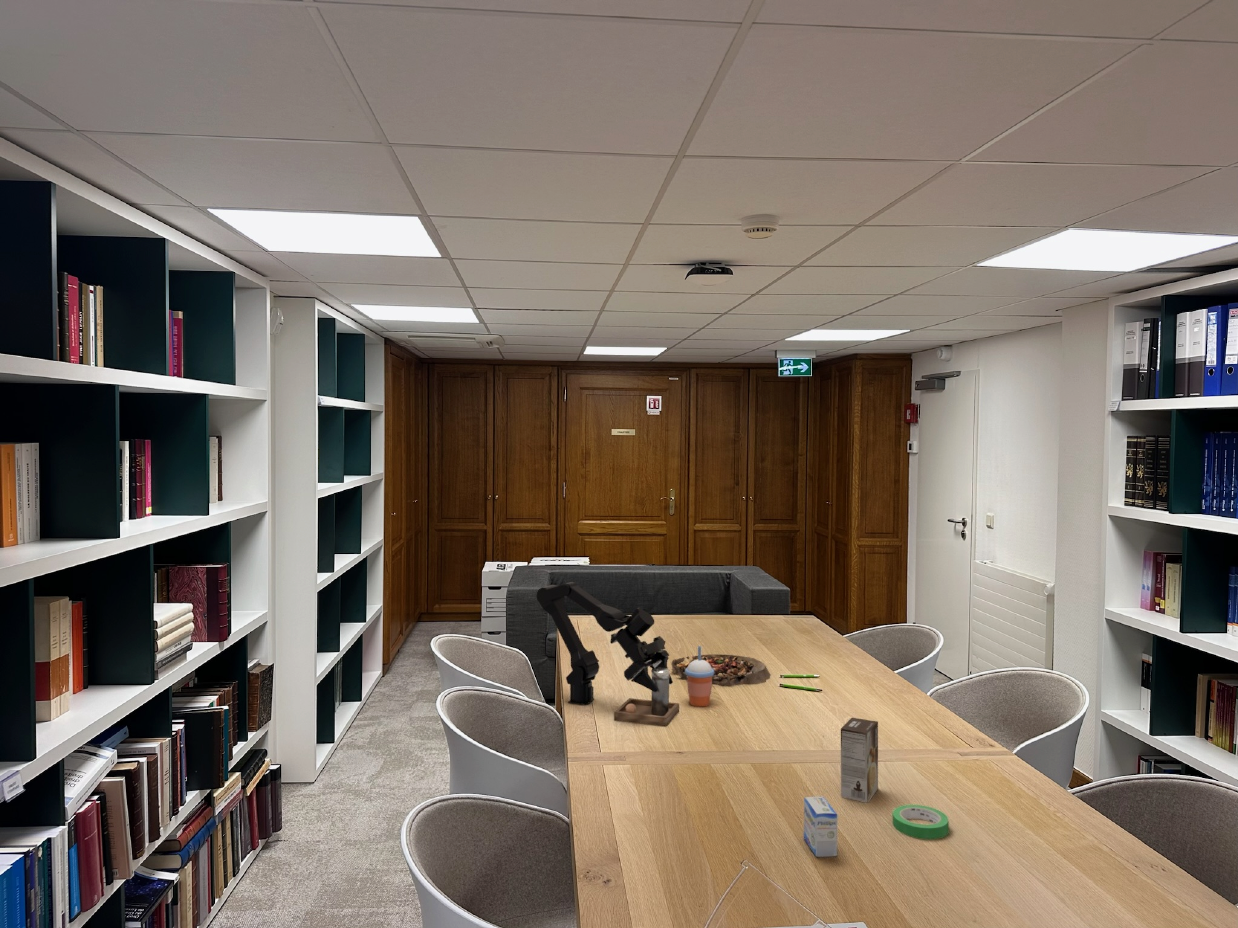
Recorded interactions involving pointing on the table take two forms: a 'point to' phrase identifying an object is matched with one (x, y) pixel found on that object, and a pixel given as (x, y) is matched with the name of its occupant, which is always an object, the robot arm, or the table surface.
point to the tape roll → (920, 830)
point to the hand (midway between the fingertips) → (664, 687)
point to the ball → (631, 708)
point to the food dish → (728, 669)
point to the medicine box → (820, 827)
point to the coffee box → (859, 759)
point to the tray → (645, 713)
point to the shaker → (660, 691)
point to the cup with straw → (699, 681)
